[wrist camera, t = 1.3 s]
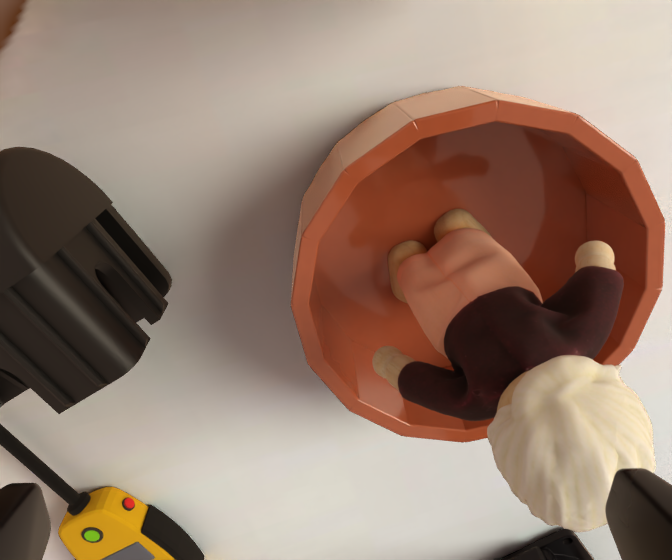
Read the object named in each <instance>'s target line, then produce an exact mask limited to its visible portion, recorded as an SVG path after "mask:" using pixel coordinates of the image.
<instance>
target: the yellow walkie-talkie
mask: <svg viewBox="0 0 672 560" xmlns="http://www.w3.org/2000/svg"><path fill="white" fill-rule="evenodd" d="M0 444H1V445H2V446H3V447H4V448H5V449H6V450H7V451H9V452H10V453H11V454H12V455H13V456H14V457H16V458H17V459H18V460H19V461H20V462H21V463H22V464H24V465H25V466H26V467H27V468H28V469H29V470H30V471H32V472H33V473H34V474H35V475H36V476H37V477H38V478H40V479H41V480H42V481H43V482H44V483H45V484H47V485H48V486H49V487H50V488H51V489H52V490H53V491H55V492H56V493H57V494H58V495H59V496H60V497H61V498H63V499H64V500H65V501H66V502H67V503H68V504H69V506H68V508H67V513H66V515H65V517H64V519H63V521H62V523H61V525H60V527H59V531H58V534H59V537H60V539H61V540H62V542H63V543H64V545H65V546H66V547H67V549H68V550H69V552H70V553H71V554H72V555H73V556H74V557H75V560H204V555H203V553H202V552H201V550H200V549H199V548H198V546H197V545H196V544H195V542H194V541H193V540H192V539H191V538H190V537H189V535H188V534H187V533H186V532H185V531H184V530H183V529H182V528H181V527H180V526H179V525H177V524H176V523H175V522H174V521H173V520H172V519H170V518H169V517H168V516H167V515H165V514H164V513H162V512H161V511H160V510H158V509H157V508H155V507H154V506H152V505H149V507H148V506H146V505H145V504H143V503H142V502H140V501H139V500H137V499H136V498H134V497H132V496H131V495H129V494H127V493H125V492H124V491H122V490H120V489H117V488H114V487H105V488H102V489H99V490H96V491H93V492H91V493H89V494H88V493H87V492H82V493H80V494H78V493H77V492H76V491H75V490H74V489H73V488H72V487H70V486H69V485H68V484H67V483H66V482H65V481H64V480H63V479H62V478H60V477H59V476H58V475H57V474H56V473H55V472H54V471H53V470H51V469H50V468H49V467H48V466H47V465H46V464H45V463H44V462H42V461H41V460H40V459H39V458H38V457H37V456H36V455H35V454H33V453H32V452H31V451H30V450H29V449H28V448H27V447H26V446H24V445H23V444H22V443H21V442H20V441H19V440H18V439H17V438H15V437H14V436H13V435H12V434H11V433H10V432H9V431H8V430H6V429H5V428H4V427H3V426H2V425H1V424H0Z"/></svg>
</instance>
